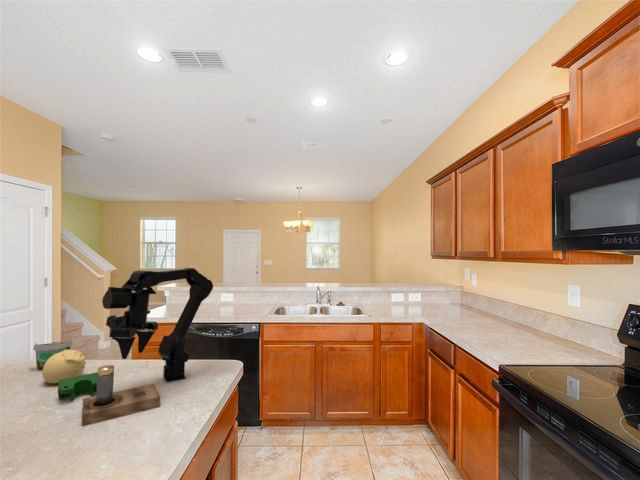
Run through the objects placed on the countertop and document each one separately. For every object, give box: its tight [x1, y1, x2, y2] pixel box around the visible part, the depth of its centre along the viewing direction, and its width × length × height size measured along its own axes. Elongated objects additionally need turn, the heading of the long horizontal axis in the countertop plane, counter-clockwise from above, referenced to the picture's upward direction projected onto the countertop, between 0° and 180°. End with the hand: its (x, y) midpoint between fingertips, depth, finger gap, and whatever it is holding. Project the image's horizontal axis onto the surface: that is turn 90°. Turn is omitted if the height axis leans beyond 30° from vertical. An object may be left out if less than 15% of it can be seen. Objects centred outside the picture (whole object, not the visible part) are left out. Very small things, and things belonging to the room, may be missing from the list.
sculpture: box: [42, 349, 87, 384], centre depth 113 cm, size 11×12×11 cm
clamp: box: [57, 371, 98, 402], centre depth 101 cm, size 12×6×9 cm, turn 129°
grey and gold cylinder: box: [95, 364, 115, 407], centre depth 91 cm, size 4×4×13 cm
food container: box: [33, 339, 74, 371], centre depth 123 cm, size 12×6×10 cm, turn 118°
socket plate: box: [81, 383, 161, 427], centre depth 94 cm, size 19×11×3 cm, turn 127°
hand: (132, 355), depth 103 cm, fingers open, 9 cm apart
